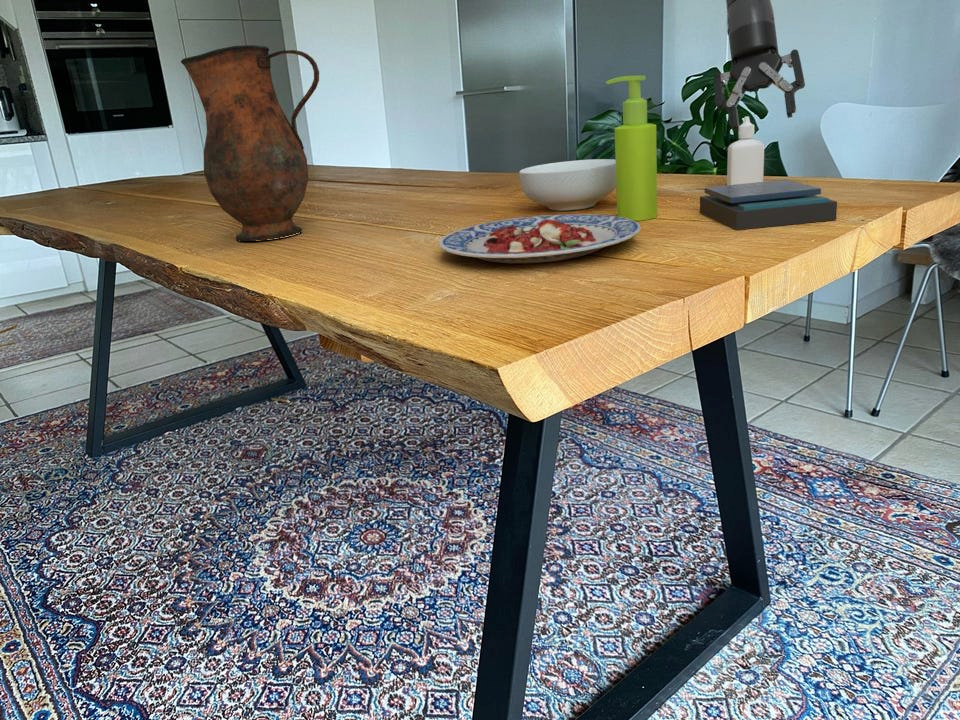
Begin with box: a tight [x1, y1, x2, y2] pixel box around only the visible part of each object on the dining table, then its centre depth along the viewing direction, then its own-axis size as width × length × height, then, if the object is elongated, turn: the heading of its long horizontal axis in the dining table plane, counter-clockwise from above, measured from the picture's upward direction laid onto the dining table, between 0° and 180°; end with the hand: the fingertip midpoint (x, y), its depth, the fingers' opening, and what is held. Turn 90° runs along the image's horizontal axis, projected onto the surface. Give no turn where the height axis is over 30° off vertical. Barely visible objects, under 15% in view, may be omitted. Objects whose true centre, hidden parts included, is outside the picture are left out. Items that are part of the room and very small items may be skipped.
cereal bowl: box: [518, 158, 616, 212], centre depth 124 cm, size 17×17×7 cm
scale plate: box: [704, 179, 822, 203], centre depth 102 cm, size 12×11×1 cm
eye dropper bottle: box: [726, 116, 765, 185], centre depth 122 cm, size 4×6×12 cm
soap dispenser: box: [605, 75, 658, 222], centre depth 107 cm, size 6×7×20 cm
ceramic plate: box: [438, 213, 641, 264], centre depth 95 cm, size 26×26×3 cm
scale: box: [699, 195, 838, 231], centre depth 102 cm, size 13×15×3 cm
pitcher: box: [180, 44, 320, 242], centre depth 122 cm, size 17×21×30 cm
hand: (762, 123), depth 125 cm, fingers open, 8 cm apart
